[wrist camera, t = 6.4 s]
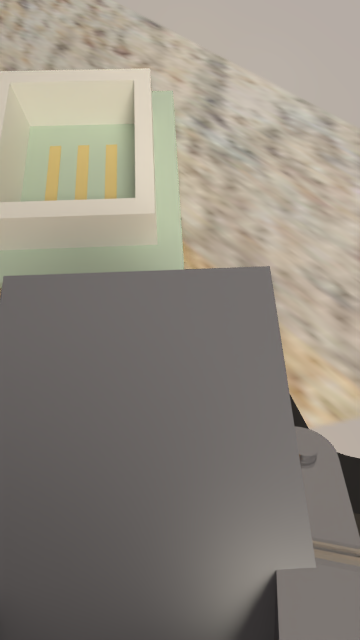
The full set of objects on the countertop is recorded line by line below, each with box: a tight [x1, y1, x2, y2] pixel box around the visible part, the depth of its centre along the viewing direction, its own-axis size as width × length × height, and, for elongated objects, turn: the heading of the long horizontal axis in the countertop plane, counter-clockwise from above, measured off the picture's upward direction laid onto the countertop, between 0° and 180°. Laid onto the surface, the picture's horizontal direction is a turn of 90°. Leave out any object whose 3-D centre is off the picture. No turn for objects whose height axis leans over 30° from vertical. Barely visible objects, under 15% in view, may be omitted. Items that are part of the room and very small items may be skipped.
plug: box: [0, 266, 316, 640], centre depth 9 cm, size 4×5×10 cm
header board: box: [0, 68, 184, 288], centre depth 16 cm, size 10×12×3 cm
